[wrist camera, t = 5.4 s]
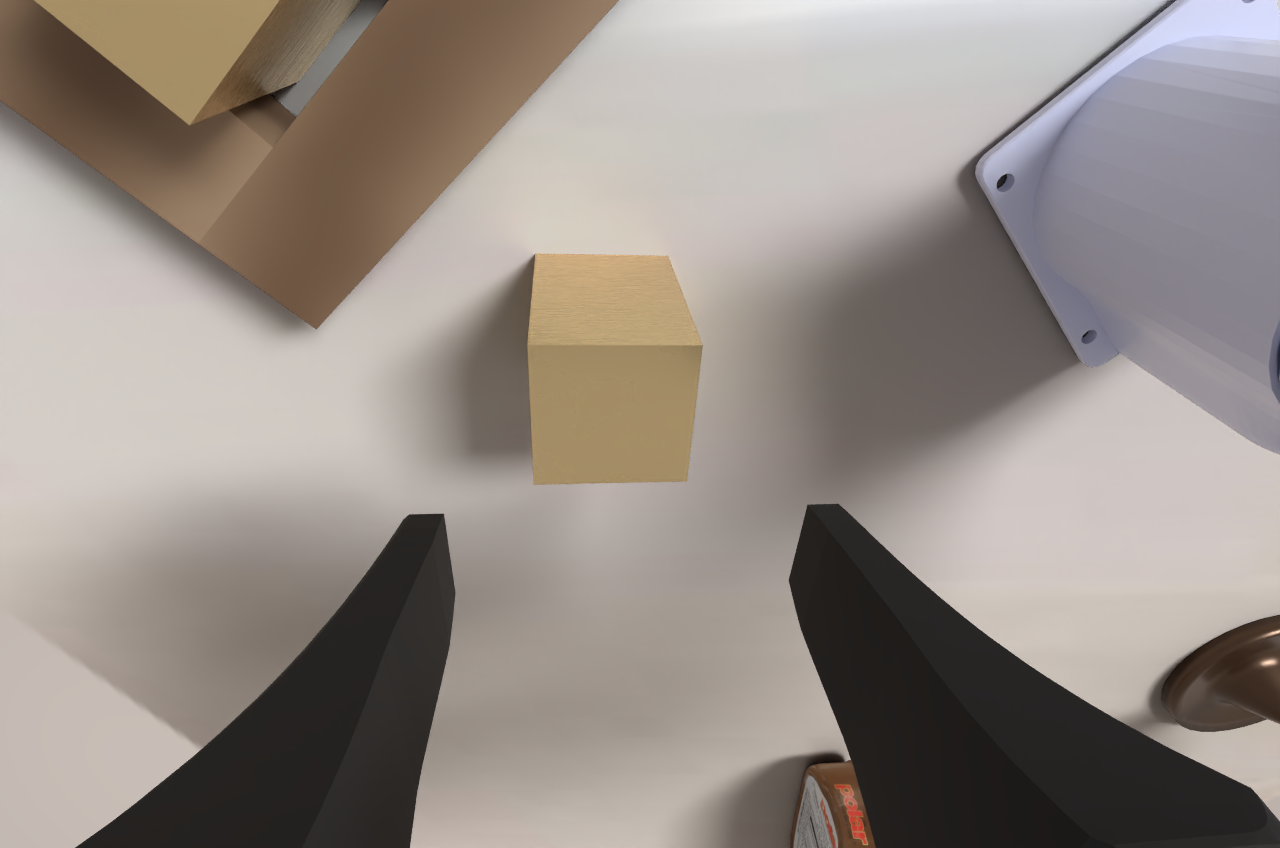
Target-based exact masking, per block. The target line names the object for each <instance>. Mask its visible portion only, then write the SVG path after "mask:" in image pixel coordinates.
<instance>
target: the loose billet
mask: <svg viewBox="0 0 1280 848" xmlns="http://www.w3.org/2000/svg"><path fill="white" fill-rule="evenodd" d="M702 346H703V345H702V343H701V340H700V337H699V335H698V332H697V330H696V327H695V325H694V322H693V319H692V317H691V314H690V312H689V309H688V306H687V304H686V301H685V299H684V296H683V293H682V291H681V288H680V286H679V283H678V280H677V278H676V275H675V273H674V270H673V268H672V265H671V262H670V260H669V257H668V256H645V255H584V254H535V265H534V276H533V287H532V298H531V309H530V320H529V331H528V342H527V351H528V372H529V393H530V415H531V436H532V458H533V479H534V485H536V484H582V483H628V482H674V481H687V476H688V467H689V459H690V450H691V441H692V433H693V424H694V415H695V406H696V398H697V389H698V380H699V372H700V363H701V354H702Z"/></svg>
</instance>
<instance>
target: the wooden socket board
mask: <svg viewBox="0 0 1280 848" xmlns="http://www.w3.org/2000/svg"><path fill="white" fill-rule="evenodd" d="M618 1H619V0H388V2H387V3H386V4H385V5H384V7H383V8H382V9H381V10H380V12H379V13H378V14H377V16H376V17H375V18H374V19H373V21H372V22H371V23H370V25H369V26H368V27H367V28H366V30H365V31H364V32H363V33H362V35H361V36H360V37H359V39H358V40H357V41H356V42H355V44H354V45H353V46H352V47H351V49H350V50H349V51H348V53H347V54H346V55H345V56H344V58H343V59H342V60H341V62H340V63H339V64H338V65H337V67H336V68H335V69H334V70H333V72H332V73H331V74H330V76H329V77H328V78H327V79H326V81H325V82H324V83H323V85H322V86H321V87H320V88H319V90H318V91H317V92H316V93H315V95H314V96H313V97H312V99H311V100H310V101H309V102H308V104H307V105H306V106H305V108H304V109H303V110H302V111H301V113H300V114H299V115H298V116H297V118H296V117H295V116H294V115H293V114H292V113H291V112H289V111H288V110H287V109H286V108H285V107H284V106H283V105H281V104H280V103H279V102H278V101H277V100H276V99H275V98H273V97H272V96H271V95H270V94H266V95H264V96H262V97H259V98H257V99H254V100H252V101H249V102H247V103H244V104H242V105H239V106H237V107H234V108H232V109H229V110H227V111H224V112H222V113H219V114H217V115H214V116H212V117H209V118H207V119H204V120H202V121H199V122H197V123H194V124H192V125H188V124H187V123H186V122H185V121H183V120H182V119H181V118H180V117H178V116H177V115H176V114H175V113H173V112H172V111H171V110H170V109H169V108H167V107H166V106H165V105H164V104H162V103H161V102H160V101H159V100H157V99H156V98H155V97H154V96H152V95H151V94H150V93H149V92H147V91H146V90H145V89H144V88H142V87H141V86H140V85H139V84H137V83H136V82H135V81H134V80H132V79H131V78H130V77H129V76H128V75H126V74H125V73H124V72H123V71H121V70H120V69H119V68H118V67H116V66H115V65H114V64H113V63H111V62H110V61H109V60H108V59H106V58H105V57H104V56H103V55H101V54H100V53H99V52H98V51H96V50H95V49H94V48H93V47H91V46H90V45H89V44H88V43H87V42H85V41H84V40H83V39H82V38H80V37H79V36H78V35H77V34H75V33H74V32H73V31H72V30H70V29H69V28H68V27H67V26H65V25H64V24H63V23H62V22H60V21H59V20H58V19H57V18H55V17H54V16H53V15H52V14H50V13H49V12H48V11H47V10H46V9H44V8H43V7H42V6H41V5H39V4H38V3H37V2H36V1H34V0H0V101H2V102H3V103H4V104H6V105H7V106H8V107H10V108H11V109H13V110H14V111H15V112H17V113H18V114H20V115H21V116H22V117H24V118H25V119H26V120H28V121H29V122H31V123H32V124H33V125H35V126H36V127H37V128H39V129H40V130H42V131H43V132H44V133H46V134H47V135H49V136H50V137H51V138H53V139H54V140H55V141H57V142H58V143H60V144H61V145H62V146H64V147H65V148H66V149H68V150H69V151H71V152H72V153H73V154H75V155H76V156H78V157H79V158H80V159H82V160H83V161H84V162H86V163H87V164H89V165H90V166H91V167H93V168H94V169H95V170H97V171H98V172H100V173H101V174H102V175H104V176H105V177H106V178H108V179H109V180H111V181H112V182H113V183H115V184H116V185H118V186H119V187H120V188H122V189H123V190H124V191H126V192H127V193H129V194H130V195H131V196H133V197H134V198H135V199H137V200H138V201H140V202H141V203H142V204H144V205H145V206H147V207H148V208H149V209H151V210H152V211H153V212H155V213H156V214H158V215H159V216H160V217H162V218H163V219H164V220H166V221H167V222H169V223H170V224H171V225H173V226H174V227H176V228H177V229H178V230H180V231H181V232H182V233H184V234H185V235H187V236H188V237H189V238H191V239H192V240H193V241H195V242H196V243H198V244H199V245H200V246H202V247H203V248H205V249H206V250H207V251H209V252H210V253H211V254H213V255H214V256H216V257H217V258H218V259H220V260H221V261H222V262H224V263H225V264H227V265H228V266H229V267H231V268H232V269H234V270H235V271H236V272H238V273H239V274H240V275H242V276H243V277H245V278H246V279H247V280H249V281H250V282H251V283H253V284H254V285H256V286H257V287H258V288H260V289H261V290H263V291H264V292H265V293H267V294H268V295H269V296H271V297H272V298H274V299H275V300H276V301H278V302H279V303H280V304H282V305H283V306H285V307H286V308H287V309H289V310H290V311H291V312H293V313H294V314H296V315H297V316H298V317H300V318H301V319H303V320H304V321H305V322H307V323H308V324H309V325H311V326H312V327H314V328H315V329H317V328H318V327H319V326H320V325H321V324H322V323H323V322H324V321H325V319H326V318H327V317H328V316H329V315H330V314H331V313H332V312H333V311H334V310H335V309H336V307H337V306H338V305H339V304H340V303H341V302H342V301H343V300H344V299H345V298H346V297H347V295H348V294H349V293H350V292H351V291H352V290H353V289H354V288H355V287H356V286H357V285H358V284H359V282H360V281H361V280H362V279H363V278H364V277H365V276H366V275H367V274H368V273H369V272H370V270H371V269H372V268H373V267H374V266H375V265H376V264H377V263H378V262H379V261H380V260H381V259H382V257H383V256H384V255H385V254H386V253H387V252H388V251H389V250H390V249H391V248H392V247H393V245H394V244H395V243H396V242H397V241H398V240H399V239H400V238H401V237H402V236H403V235H404V233H405V232H406V231H407V230H408V229H409V228H410V227H411V226H412V225H413V224H414V223H415V222H416V220H417V219H418V218H419V217H420V216H421V215H422V214H423V213H424V212H425V211H426V210H427V208H428V207H429V206H430V205H431V204H432V203H433V202H434V201H435V200H436V199H437V198H438V196H439V195H440V194H441V193H442V192H443V191H444V190H445V189H446V188H447V187H448V186H449V185H450V183H451V182H452V181H453V180H454V179H455V178H456V177H457V176H458V175H459V174H460V173H461V171H462V170H463V169H464V168H465V167H466V166H467V165H468V164H469V163H470V162H471V161H472V159H473V158H474V157H475V156H476V155H477V154H478V153H479V152H480V151H481V150H482V149H483V148H484V146H485V145H486V144H487V143H488V142H489V141H490V140H491V139H492V138H493V137H494V136H495V134H496V133H497V132H498V131H499V130H500V129H501V128H502V127H503V126H504V125H505V124H506V123H507V121H508V120H509V119H510V118H511V117H512V116H513V115H514V114H515V113H516V112H517V111H518V109H519V108H520V107H521V106H522V105H523V104H524V103H525V102H526V101H527V100H528V99H529V97H530V96H531V95H532V94H533V93H534V92H535V91H536V90H537V89H538V88H539V87H540V86H541V84H542V83H543V82H544V81H545V80H546V79H547V78H548V77H549V76H550V75H551V74H552V72H553V71H554V70H555V69H556V68H557V67H558V66H559V65H560V64H561V63H562V62H563V60H564V59H565V58H566V57H567V56H568V55H569V54H570V53H571V52H572V51H573V50H574V49H575V47H576V46H577V45H578V44H579V43H580V42H581V41H582V40H583V39H584V38H585V37H586V35H587V34H588V33H589V32H590V31H591V30H592V29H593V28H594V27H595V26H596V25H597V23H598V22H599V21H600V20H601V19H602V18H603V17H604V16H605V15H606V14H607V13H608V12H609V10H610V9H611V8H612V7H613V6H614V5H615V4H616V3H617V2H618Z"/></svg>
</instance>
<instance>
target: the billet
mask: <svg viewBox="0 0 1280 848" xmlns="http://www.w3.org/2000/svg"><path fill="white" fill-rule="evenodd" d="M34 1H36V2H37V3H38V4H39V5H41V6H42V7H43V8H44V9H46V10H47V11H48V12H49V13H50V14H52V15H53V16H54V17H55V18H57V19H58V20H59V21H60V22H62V23H63V24H64V25H65V26H67V27H68V28H69V29H70V30H72V31H73V32H74V33H75V34H77V35H78V36H79V37H80V38H82V39H83V40H84V41H85V42H87V43H88V44H89V45H90V46H91V47H93V48H94V49H95V50H96V51H98V52H99V53H100V54H101V55H103V56H104V57H105V58H106V59H108V60H109V61H110V62H111V63H113V64H114V65H115V66H116V67H118V68H119V69H120V70H121V71H123V72H124V73H125V74H126V75H128V76H129V77H130V78H131V79H132V80H134V81H135V82H136V83H137V84H139V85H140V86H141V87H142V88H144V89H145V90H146V91H147V92H149V93H150V94H151V95H152V96H154V97H155V98H156V99H157V100H159V101H160V102H161V103H162V104H164V105H165V106H166V107H167V108H169V109H170V110H171V111H172V112H173V113H175V114H176V115H177V116H178V117H180V118H181V119H182V120H183V121H185V122H186V123H187V124H188V125H192V124H194V123H197V122H199V121H202V120H204V119H207V118H209V117H212V116H214V115H217V114H219V113H222V112H224V111H227V110H229V109H232V108H234V107H237V106H239V105H242V104H244V103H247V102H249V101H252V100H254V99H257V98H259V97H262V96H264V95H266V94H269V93H271V92H274V91H276V90H279V89H281V88H284V87H286V86H289V85H291V84H294V83H296V82H299V80H300V79H301V78H302V76H303V75H304V74H305V73H306V71H307V70H308V69H309V67H310V66H311V65H312V63H313V62H314V61H315V59H316V58H317V57H318V56H319V54H320V53H321V52H322V50H323V49H324V48H325V46H326V45H327V44H328V43H329V41H330V40H331V39H332V37H333V36H334V35H335V33H336V32H337V31H338V30H339V28H340V27H341V26H342V24H343V23H344V22H345V20H346V19H347V18H348V16H349V15H350V14H351V13H352V11H353V10H354V9H355V7H356V6H357V5H358V3H359V2H360V1H361V0H34Z"/></svg>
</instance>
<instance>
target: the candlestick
mask: <svg viewBox="0 0 1280 848" xmlns="http://www.w3.org/2000/svg"><path fill="white" fill-rule="evenodd" d="M1161 700H1162V702H1163V704H1164V707H1165V708H1166V709H1167V710H1168V711H1169V713H1170V714H1171V715H1172V716H1173V718H1174V719H1175V720H1176V721H1177V722H1178V723H1179V724H1180V725H1181V726H1183V727H1185V728H1188V729H1190V730H1195V731H1201V732H1216V731H1224V730H1231V729H1236V728H1240V727H1245V726H1248V725H1251V724H1255V723H1258V722H1261V721H1263V720H1266V719H1269V720H1271V721H1273V722H1276V723H1278V724H1280V615H1279V616H1274V617H1269V618H1265V619H1261V620H1258V621H1255V622H1252V623H1249V624H1246V625H1243V626H1241V627H1238V628H1236V629H1234V630H1231V631H1229V632H1227V633H1225V634H1223V635H1221V636H1219V637H1217V638H1216V639H1214V640H1212V641H1210V642H1208V643H1207V644H1205V645H1204V646H1202V647H1201V648H1199V649H1198V650H1196V651H1195V652H1193V653H1192V654H1191V655H1190V656H1189V657H1187V658H1186V659H1185V660H1184V661H1182V662H1181V663H1180V665H1179V666H1178V667H1177V668H1176V669H1175V670H1174V671H1173V672H1172V673H1171V675H1170V676H1169V678H1168V679H1167V681H1166V682H1165V684H1164V687H1163V690H1162V699H1161Z"/></svg>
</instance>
